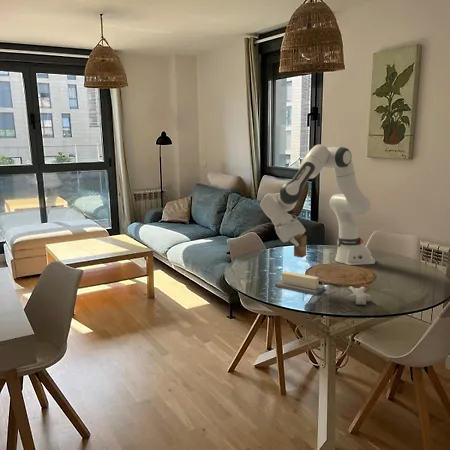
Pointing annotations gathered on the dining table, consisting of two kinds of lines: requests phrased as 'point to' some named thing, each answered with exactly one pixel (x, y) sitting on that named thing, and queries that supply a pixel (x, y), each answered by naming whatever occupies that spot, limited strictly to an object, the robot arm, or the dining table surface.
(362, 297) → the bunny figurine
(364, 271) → the dining table surface
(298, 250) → the walnut pillar
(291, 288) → the stand
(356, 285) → the wooden tablet
